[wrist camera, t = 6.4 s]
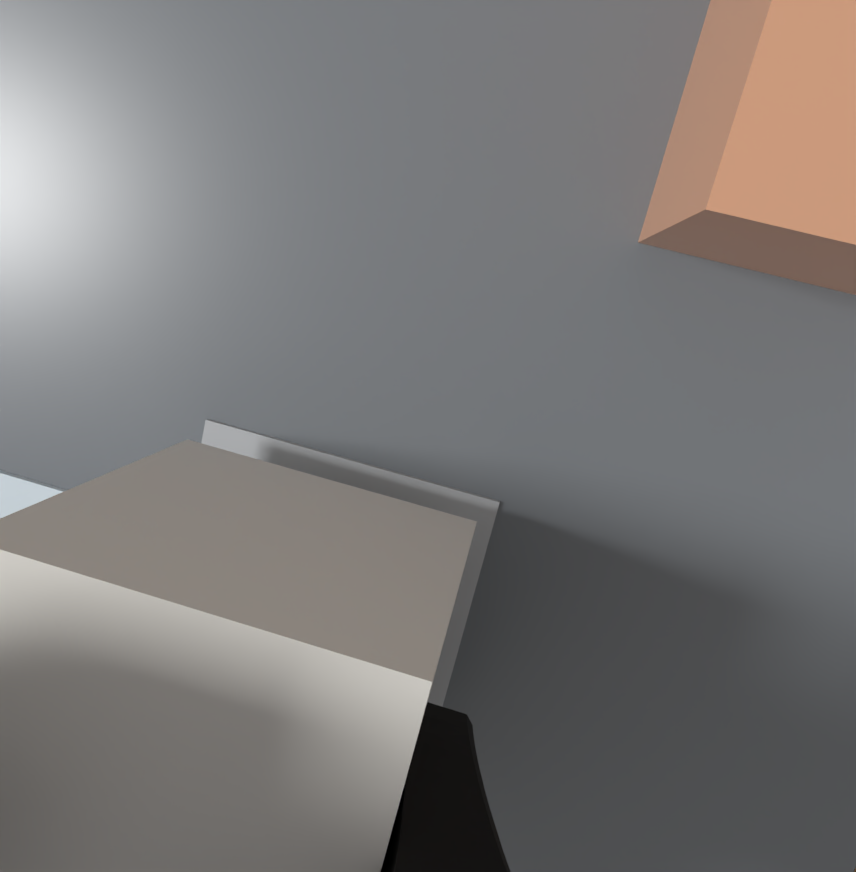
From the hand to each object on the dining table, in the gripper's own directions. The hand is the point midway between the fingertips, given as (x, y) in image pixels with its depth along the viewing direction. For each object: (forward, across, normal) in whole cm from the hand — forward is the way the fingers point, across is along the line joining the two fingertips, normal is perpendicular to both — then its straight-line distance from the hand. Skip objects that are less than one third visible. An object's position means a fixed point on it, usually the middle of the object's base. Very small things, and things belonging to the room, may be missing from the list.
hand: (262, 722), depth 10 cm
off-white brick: (+1, 0, 0) cm, 1 cm away
